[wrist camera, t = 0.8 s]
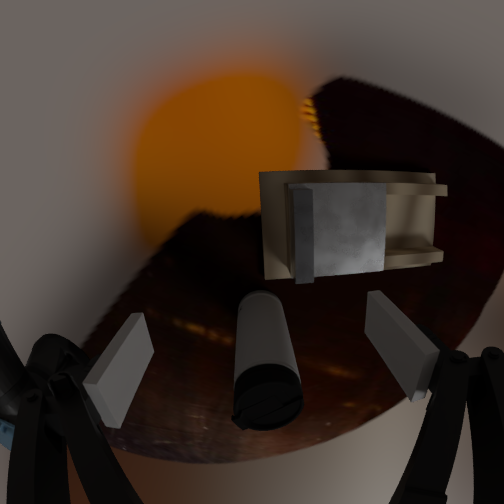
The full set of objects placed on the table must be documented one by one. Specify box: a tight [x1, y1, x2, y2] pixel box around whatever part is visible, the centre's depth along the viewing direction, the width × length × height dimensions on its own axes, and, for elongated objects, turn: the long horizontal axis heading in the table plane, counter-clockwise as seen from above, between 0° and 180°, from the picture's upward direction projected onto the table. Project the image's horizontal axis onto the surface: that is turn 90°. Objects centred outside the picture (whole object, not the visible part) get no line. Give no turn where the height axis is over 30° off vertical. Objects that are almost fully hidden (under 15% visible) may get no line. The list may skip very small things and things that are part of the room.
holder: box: [259, 170, 447, 280], centre depth 36 cm, size 26×14×4 cm, turn 94°
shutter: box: [288, 182, 386, 284], centre depth 31 cm, size 12×11×4 cm
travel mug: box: [231, 290, 304, 431], centre depth 31 cm, size 6×7×20 cm
